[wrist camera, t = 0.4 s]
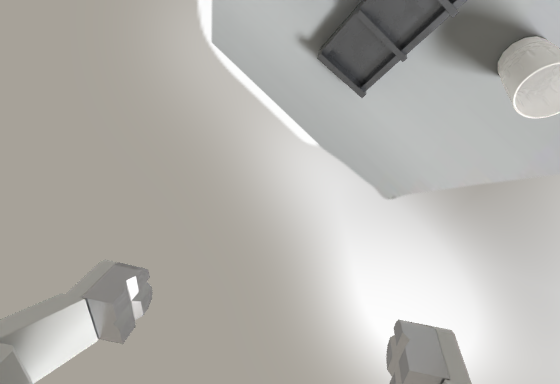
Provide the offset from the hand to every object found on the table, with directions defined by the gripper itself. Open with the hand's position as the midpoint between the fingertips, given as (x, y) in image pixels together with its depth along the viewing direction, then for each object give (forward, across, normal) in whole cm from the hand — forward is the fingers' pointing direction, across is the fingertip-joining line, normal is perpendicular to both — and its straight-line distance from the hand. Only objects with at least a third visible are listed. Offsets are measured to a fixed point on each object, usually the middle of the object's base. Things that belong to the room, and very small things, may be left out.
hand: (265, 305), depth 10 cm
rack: (+48, -8, -11) cm, 50 cm away
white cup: (+50, -28, -5) cm, 58 cm away
